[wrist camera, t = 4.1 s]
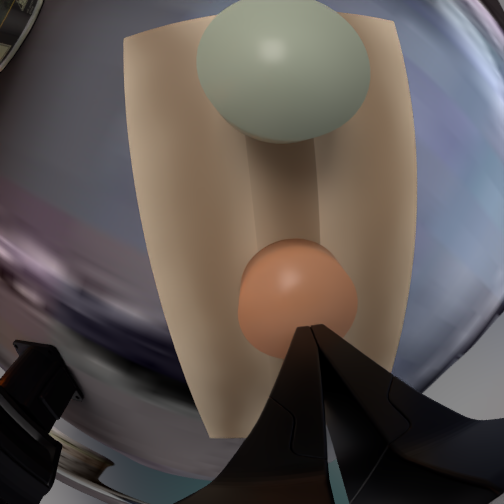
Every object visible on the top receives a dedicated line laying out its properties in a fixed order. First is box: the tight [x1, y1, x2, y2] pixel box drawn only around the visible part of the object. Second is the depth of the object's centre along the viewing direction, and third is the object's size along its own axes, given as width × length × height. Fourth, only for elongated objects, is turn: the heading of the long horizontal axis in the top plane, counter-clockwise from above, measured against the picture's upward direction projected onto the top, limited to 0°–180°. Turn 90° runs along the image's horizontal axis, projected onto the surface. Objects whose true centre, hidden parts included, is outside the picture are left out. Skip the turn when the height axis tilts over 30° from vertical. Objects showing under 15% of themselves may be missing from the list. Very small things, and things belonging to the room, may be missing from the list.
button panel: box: [124, 12, 417, 438], centre depth 13 cm, size 12×24×3 cm, turn 6°
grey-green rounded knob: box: [196, 0, 370, 144], centre depth 8 cm, size 4×4×5 cm
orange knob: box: [238, 238, 358, 359], centre depth 12 cm, size 4×4×5 cm
